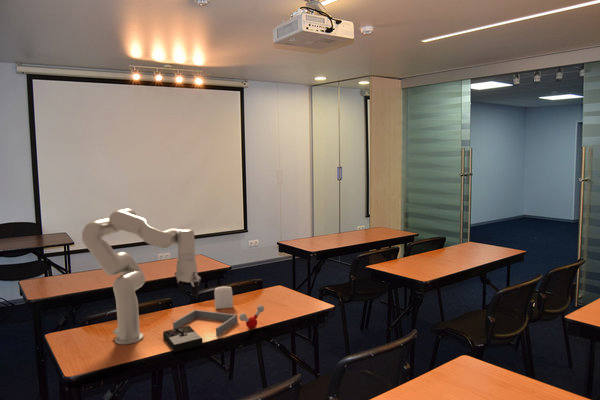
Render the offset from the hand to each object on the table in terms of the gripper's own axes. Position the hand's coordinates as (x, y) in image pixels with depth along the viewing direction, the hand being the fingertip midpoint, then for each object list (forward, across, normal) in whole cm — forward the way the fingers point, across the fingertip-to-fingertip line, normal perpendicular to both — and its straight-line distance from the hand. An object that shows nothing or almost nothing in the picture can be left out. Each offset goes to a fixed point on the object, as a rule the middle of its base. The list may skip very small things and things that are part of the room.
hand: (188, 292), depth 200 cm
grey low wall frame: (+23, -8, +16) cm, 29 cm away
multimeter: (+24, -3, -2) cm, 24 cm away
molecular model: (+23, +14, +28) cm, 39 cm away
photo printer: (+23, -21, +42) cm, 52 cm away
